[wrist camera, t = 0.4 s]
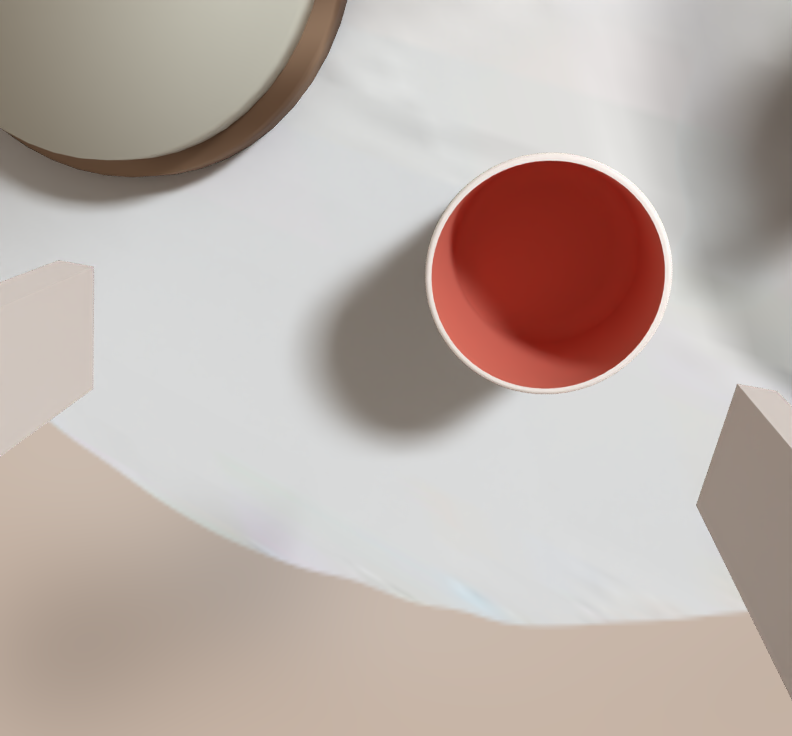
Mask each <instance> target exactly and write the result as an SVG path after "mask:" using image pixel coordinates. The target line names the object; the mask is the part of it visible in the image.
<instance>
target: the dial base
mask: <svg viewBox="0 0 792 736" xmlns="http://www.w3.org/2000/svg"><path fill="white" fill-rule="evenodd" d="M346 3H347V0H314V4H313V8H312V11H311V13H310V16H309V18H308V21H307V23H306V26H305V28H304V31H303V33H302V36H301V38H300V40H299V42H298V44H297V46H296V48H295V49H294V51H293V53H292V55H291V57H290V59H289V60H288V62H287V64H286V66H285V67H284V69H283V70H282V71H281V73H280V74H279V76H278V77H277V78H276V80H275V81H274V82H273V84H272V85H271V87H270V88H269V89H268V91H267V92H266V93H265V94H264V95H263V96H262V97H261V98H260V99H259V100H258V101H257V102H256V103H255V104H254V105H253V106H252V108H251V109H250V110H249V111H248V112H246V113H245V114H244V115H243V116H241V117H240V118H239V119H238V120H236V121H235V122H234V123H233V124H231V125H230V126H229V127H228V128H226V129H225V130H223V131H221V132H220V133H218V134H216V135H214V136H213V137H211V138H209V139H208V140H206V141H204V142H202V143H200V144H197V145H195V146H192V147H190V148H187V149H185V150H182V151H180V152H177V153H172V154H168V155H164V156H159V157H155V158H147V159H134V160H98V159H84V158H77V157H72V156H68V155H63V154H58V153H54V152H51V151H48V150H46V149H43V148H40V147H38V146H35V145H32V144H29V143H27V142H25V141H23V140H21V139H20V138H18V137H16V136H14V135H12V134H10V133H8V132H7V133H8V134H10V135H11V136H12V137H14V138H15V139H17V140H18V141H20V142H21V143H22V144H24V145H25V146H27V147H29V148H31V149H33V150H34V151H36V152H38V153H40V154H42V155H44V156H46V157H48V158H50V159H52V160H54V161H57V162H60V163H62V164H65V165H68V166H71V167H73V168H76V169H79V170H84V171H89V172H93V173H98V174H102V175H111V176H125V177H143V176H159V175H173V174H179V173H184V172H188V171H193V170H197V169H201V168H204V167H207V166H209V165H212V164H214V163H217V162H220V161H222V160H225V159H227V158H229V157H231V156H233V155H234V154H236V153H238V152H240V151H241V150H243V149H245V148H247V147H248V146H250V145H252V144H253V143H254V142H256V141H257V140H258V139H259V138H261V137H262V136H263V135H265V134H266V133H267V132H268V131H270V130H271V129H272V128H274V127H275V126H276V124H277V123H278V122H279V121H280V120H281V119H282V118H283V117H284V116H285V115H286V114H287V113H288V112H289V111H290V110H291V109H292V108H293V107H294V106H295V105H296V103H297V102H298V101H299V99H300V98H301V97H302V95H303V94H304V93H305V91H306V90H307V89H308V87H309V86H310V85H311V83H312V82H313V80H314V78H315V77H316V75H317V73H318V71H319V69H320V68H321V66H322V64H323V62H324V61H325V59H326V57H327V55H328V53H329V51H330V48H331V46H332V44H333V41H334V39H335V36H336V34H337V31H338V29H339V26H340V24H341V21H342V17H343V14H344V10H345V6H346ZM2 130H3V129H2ZM5 132H6V131H5Z"/></svg>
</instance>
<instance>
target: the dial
mask: <svg viewBox="0 0 792 736" xmlns="http://www.w3.org/2000/svg"><path fill="white" fill-rule="evenodd" d="M313 4H314V0H0V128H1V129H3V130H4V131H6V132H8V133H10V134H12V135H14V136H16V137H18V138H20V139H21V140H23V141H25V142H27V143H29V144H32V145H35V146H38V147H40V148H43V149H46V150H48V151H51V152H54V153H58V154H63V155H68V156H72V157H77V158H84V159H98V160H134V159H147V158H155V157H159V156H164V155H168V154H172V153H177V152H180V151H182V150H185V149H187V148H190V147H192V146H195V145H197V144H200V143H202V142H204V141H206V140H208V139H209V138H211V137H213V136H214V135H216V134H218V133H220V132H221V131H223V130H225V129H226V128H228V127H229V126H230V125H231V124H233V123H234V122H235V121H236V120H238V119H239V118H240V117H241V116H243V115H244V114H245V113H246V112H248V111H249V110H250V109H251V108H252V106H253V105H254V104H255V103H256V102H257V101H258V100H259V99H260V98H261V97H262V96H263V95H264V94H265V93H266V92H267V91H268V89H269V88H270V87H271V85H272V84H273V82H274V81H275V80H276V78H277V77H278V76H279V74H280V73H281V71H282V70H283V69H284V67H285V66H286V64H287V62H288V60H289V59H290V57H291V55H292V53H293V51H294V49H295V48H296V46H297V44H298V42H299V40H300V38H301V36H302V33H303V31H304V28H305V26H306V23H307V21H308V18H309V16H310V13H311V11H312V8H313Z"/></svg>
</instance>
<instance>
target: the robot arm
mask: <svg viewBox="0 0 792 736" xmlns="http://www.w3.org/2000/svg"><path fill="white" fill-rule="evenodd" d="M93 338H94V267H93V266H87V265H82V264H76V263H71V262H65V261H60V260H58V261H55V262H53V263H50V264H47V265H45V266H42V267H39V268H37V269H34V270H31V271H29V272H26V273H24V274H21V275H18V276H16V277H13V278H10V279H8V280H5V281H2V282H0V457H1V456H2V455H3V454H5V453H6V452H7V451H9V450H10V449H12V448H13V447H14V446H16V445H17V444H18V443H20V442H21V441H23V440H24V439H25V438H27V437H28V436H29V435H31V434H32V433H34V432H35V431H36V430H37V429H39V428H40V427H42V426H43V425H45V424H46V423H47V422H49V421H50V420H51V419H53V418H54V417H55V416H57V415H58V414H60V413H61V412H62V411H64V410H65V409H66V408H68V407H69V406H71V405H72V404H73V403H75V402H76V401H77V400H79V399H80V398H81V397H83V396H84V395H86V394H87V393H88V392H90V391H91V390H92V389H93ZM696 506H697V508H698V510H699V512H700V514H701V516H702V518H703V520H704V522H705V524H706V526H707V528H708V530H709V532H710V534H711V536H712V538H713V540H714V543H715V545H716V547H717V549H718V551H719V553H720V555H721V557H722V559H723V561H724V563H725V565H726V567H727V569H728V571H729V573H730V575H731V577H732V579H733V581H734V583H735V585H736V587H737V589H738V591H739V593H740V595H741V597H742V599H743V602H744V604H745V606H746V608H747V610H748V612H749V614H750V616H751V618H752V620H753V622H754V624H755V626H756V628H757V630H758V632H759V634H760V636H761V638H762V640H763V642H764V644H765V646H766V648H767V650H768V652H769V654H770V656H771V658H772V661H773V663H774V665H775V667H776V669H777V671H778V673H779V675H780V677H781V679H782V681H783V683H784V685H785V687H786V689H787V691H788V693H789V695H790V697H791V699H792V406H791V405H790V404H789V403H788V402H787V401H786V400H785V399H784V398H783V397H782V396H781V395H780V394H779V393H778V392H777V391H774V390H768V389H763V388H757V387H752V386H746V385H741V384H737V386H736V389H735V392H734V395H733V398H732V401H731V404H730V407H729V410H728V413H727V416H726V419H725V422H724V425H723V428H722V431H721V433H720V436H719V439H718V442H717V445H716V448H715V451H714V454H713V457H712V460H711V463H710V466H709V469H708V472H707V475H706V478H705V481H704V484H703V487H702V489H701V492H700V495H699V498H698V501H697V504H696Z"/></svg>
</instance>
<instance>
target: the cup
mask: <svg viewBox="0 0 792 736" xmlns="http://www.w3.org/2000/svg"><path fill="white" fill-rule="evenodd" d="M671 283H672V258H671V250H670V245H669V241H668V237H667V234H666V231H665V229H664V226H663V224H662V221H661V219H660V217H659V216H658V214H657V212H656V210H655V208H654V207H653V206H652V204H651V203H650V201H649V200H648V198H647V197H646V196H645V195H644V194H643V193H642V191H641V190H640V189H639V188H638V187H637V186H636V185H635V184H633V183H632V182H631V181H630V180H629V179H628V178H626V177H625V176H623V175H622V174H621V173H619V172H618V171H616V170H614V169H612V168H611V167H609V166H607V165H605V164H602V163H600V162H598V161H596V160H593V159H589V158H586V157H583V156H578V155H573V154H566V153H537V154H530V155H525V156H521V157H517V158H514V159H510V160H508V161H505V162H503V163H500V164H498V165H496V166H494V167H492V168H490V169H488V170H487V171H485V172H483V173H482V174H480V175H479V176H477V177H476V178H475V179H473V180H472V181H471V182H470V183H468V184H467V185H466V186H465V187H464V188H463V189H462V190H461V191H460V192H459V193H458V194H457V195H456V197H455V198H454V199H453V200H452V201H451V202H450V204H449V205H448V207H447V208H446V210H445V211H444V213H443V214H442V216H441V218H440V220H439V222H438V223H437V225H436V228H435V230H434V233H433V235H432V238H431V241H430V244H429V248H428V253H427V258H426V266H425V285H426V294H427V300H428V304H429V308H430V311H431V315H432V317H433V320H434V322H435V325H436V327H437V329H438V331H439V333H440V334H441V336H442V338H443V339H444V341H445V342H446V344H447V345H448V346H449V348H450V349H451V350H452V351H453V353H454V354H455V355H456V356H457V357H458V358H459V359H460V360H461V361H462V362H463V363H464V364H465V365H467V366H468V367H469V368H470V369H471V370H473V371H474V372H476V373H477V374H479V375H480V376H482V377H484V378H485V379H487V380H489V381H491V382H493V383H495V384H497V385H500V386H503V387H505V388H508V389H512V390H515V391H520V392H525V393H533V394H558V393H566V392H571V391H576V390H580V389H583V388H586V387H589V386H592V385H594V384H596V383H599V382H601V381H603V380H605V379H607V378H608V377H610V376H612V375H613V374H615V373H617V372H618V371H619V370H621V369H622V368H623V367H625V366H626V365H627V364H629V363H630V362H631V361H632V360H633V359H634V358H635V357H636V356H637V355H638V354H639V353H640V352H641V351H642V349H643V348H644V347H645V346H646V345H647V344H648V342H649V341H650V339H651V338H652V336H653V335H654V333H655V332H656V330H657V328H658V326H659V324H660V322H661V320H662V318H663V315H664V312H665V310H666V307H667V304H668V300H669V295H670V291H671Z"/></svg>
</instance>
